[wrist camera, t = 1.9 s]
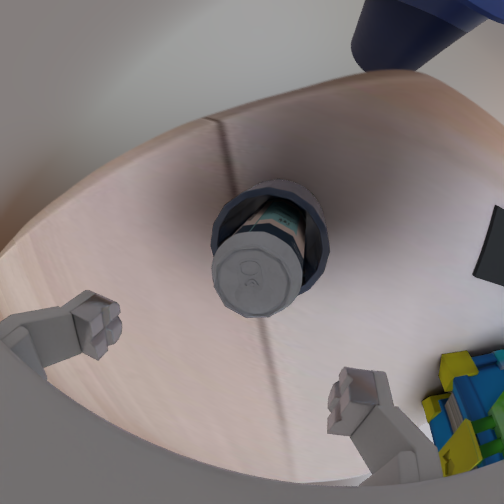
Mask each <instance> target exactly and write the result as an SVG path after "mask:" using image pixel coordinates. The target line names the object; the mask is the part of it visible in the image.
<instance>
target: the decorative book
mask: <svg viewBox="0 0 504 504" xmlns="http://www.w3.org/2000/svg"><path fill="white" fill-rule="evenodd" d="M438 376H439V378H440V381H441V383H442V386H443V388H444V391H445V392H448V391H452V393H447V394H441V395H436V396H430V397H428V398H427V399H425V400H423V401H422V404H423V407H424V411H425V415H426V418H427V422H428V423H429V425H430V429H431V433H432V437H433V441H434V445H435V446H436V447H437V449H438V453H439V458H440V462H441V467H442V472H443V477H447V476H451V475H456V474H460V473H463V472H467V471H471V470H474V469H478V468H481V467H484V466H487V465H490V464H493V463H496V462H498V461H501V460H504V349H502V350H497V351H493V352H492V353H490V354H485V355H480V356H476V357H471V356H470V355H469V353H468V351H461V352H455V353H448V354H442V357H441V363H440V370H439V375H438Z"/></svg>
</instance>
